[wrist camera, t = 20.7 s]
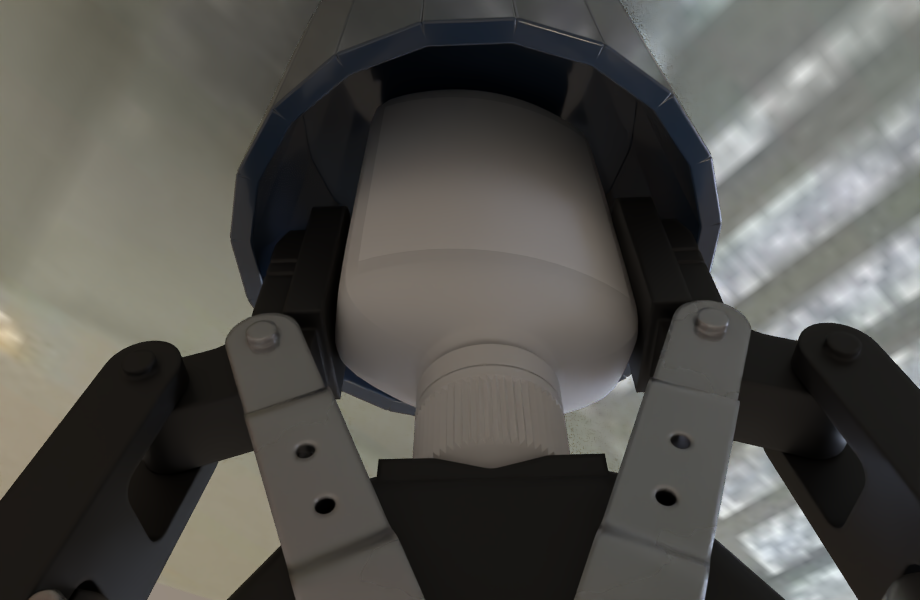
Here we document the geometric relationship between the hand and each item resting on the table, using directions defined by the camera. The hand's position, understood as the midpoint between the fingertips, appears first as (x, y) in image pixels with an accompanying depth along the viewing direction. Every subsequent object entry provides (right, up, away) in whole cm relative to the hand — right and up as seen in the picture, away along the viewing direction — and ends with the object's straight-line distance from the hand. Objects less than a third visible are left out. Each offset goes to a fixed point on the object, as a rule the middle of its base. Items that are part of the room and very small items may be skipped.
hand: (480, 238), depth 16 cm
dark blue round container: (0, +4, +5) cm, 6 cm away
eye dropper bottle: (0, +3, +3) cm, 4 cm away
